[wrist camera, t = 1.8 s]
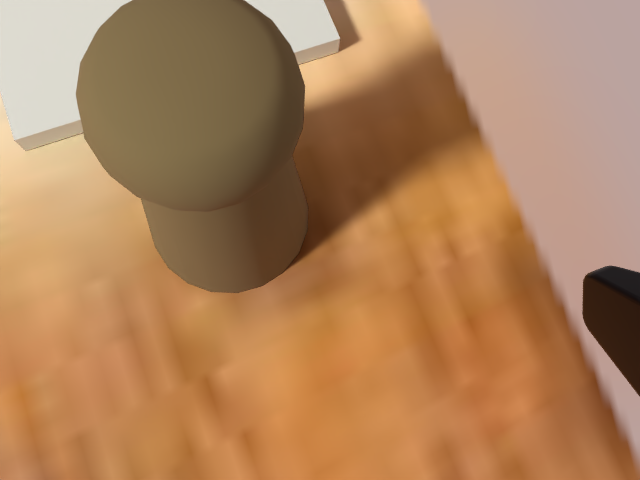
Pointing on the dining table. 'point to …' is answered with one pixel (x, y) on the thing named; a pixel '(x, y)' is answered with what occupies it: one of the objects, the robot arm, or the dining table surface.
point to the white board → (73, 41)
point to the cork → (201, 134)
